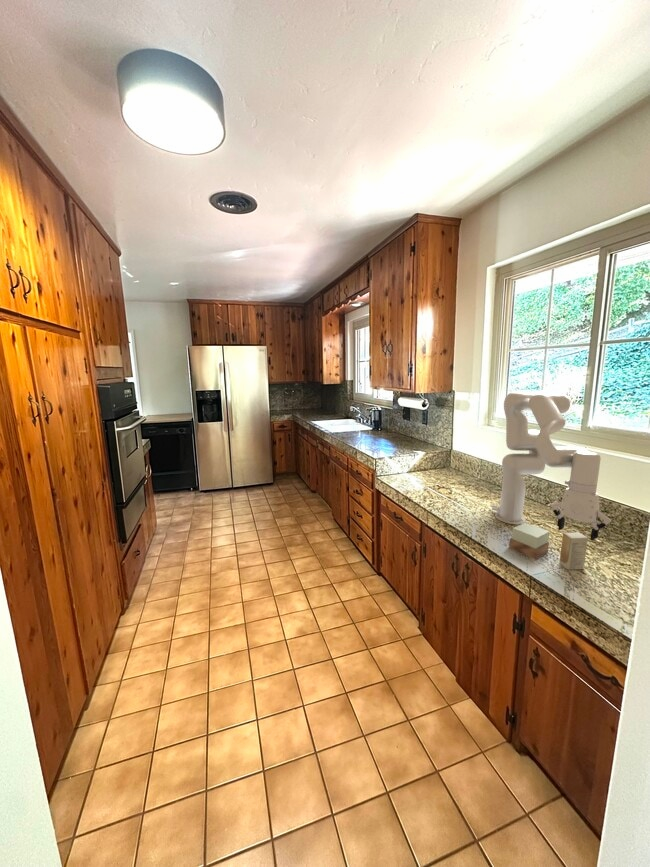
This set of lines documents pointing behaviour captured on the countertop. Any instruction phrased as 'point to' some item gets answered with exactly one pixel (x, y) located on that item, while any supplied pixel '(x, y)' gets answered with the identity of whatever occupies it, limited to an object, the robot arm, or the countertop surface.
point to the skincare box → (573, 550)
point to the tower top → (530, 535)
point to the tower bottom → (528, 549)
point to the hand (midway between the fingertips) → (576, 533)
